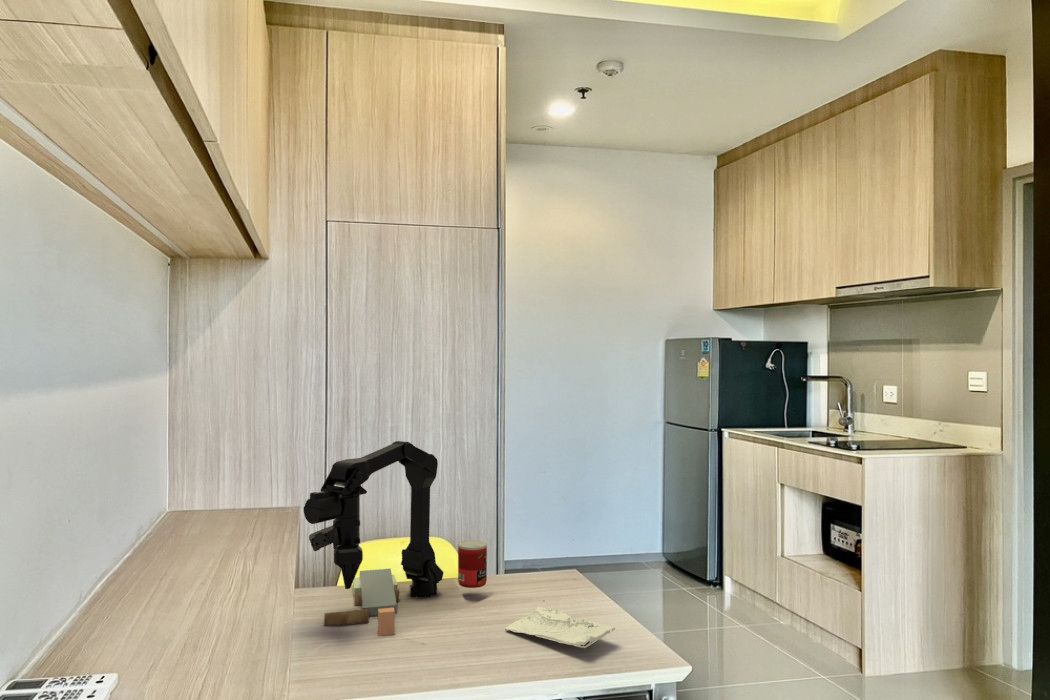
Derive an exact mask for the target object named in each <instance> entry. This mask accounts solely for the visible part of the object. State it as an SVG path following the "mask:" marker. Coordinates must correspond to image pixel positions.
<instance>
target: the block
mask: <svg viewBox="0 0 1050 700" xmlns="http://www.w3.org/2000/svg"><path fill="white" fill-rule="evenodd" d="M359 578H360V576H359V577H358V576H357V577H355V578H354V580H353V583H352V592H353V593H352V595H354V594H355V593H361V590H360V579H359ZM392 579H393V585H394V590H399V587H398V585H399V584H398V582H397V579H396V576H395V574H392Z"/></svg>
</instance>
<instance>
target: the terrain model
mask: <svg viewBox="0 0 1050 700" xmlns="http://www.w3.org/2000/svg"><path fill="white" fill-rule="evenodd" d="M615 630H616V627H615V626H613V625H607V624H603V623H599V622H597V621H588V620H585V619H583V618H581V619H577V618H576V619H575V618H572V616H571V615H568V614H566V613H564V612H561V611H559V610H558V609H557V610H554V609H553V608H551V607H549V608H545V607H541V606H539V605H538V606H537V607H536V608H535V609H533V611H531V612H530V613H529V614H528V615H527V616H524V617H522V618H520V619H518V620H516V621H514V622H512V623H511V624H508V625H507V627H505V628H504V631H505V632H506V631H507V632H508V631H511V632H513V633H519V634H520V633H522V634H526V635H530V636H535V637H537V638H543V639H545V640H550V641H554V642H557V643H559V644H565V645H570V646H574V647H577V648H581V649H586V648H588V647H589V646H591V645H592V644H594V643H595V642H598V641H599V640H601V639H602V638H604V637H605V636H607V635H608V634H611V633H612V632H613V631H615ZM588 642H589V643H588ZM587 643H588V644H587Z"/></svg>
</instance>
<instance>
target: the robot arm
mask: <svg viewBox="0 0 1050 700" xmlns="http://www.w3.org/2000/svg"><path fill="white" fill-rule="evenodd" d="M397 462H398V463H399V464H400V465H402V466H403V467H404V472H405V478H406V479H407V481H408V484H409V486H410V523H409V524H410V530H409V534H410V535H409V543H408V545H407V547H406V548H404V549H402V550H401V562H400V565H401V566H402V570H403V572H404V574H405V578H406V579H407V580H411V584H410V585H409V596H410V598H418V599H419V598H420V599H425V598H426V599H428V598H431V597H434V596H438V584H439V583H440V582H441V581H443V577H444V571H443V569H442V568H441V567H440V566H438V564H437V563H436V553H435V550H434V548H433V547H432V544H431V542H430V524H431V523H430V516H431V515H430V513H431V486H432V485H433V483H434V481H435V479H436V478H437V473H438V465H439V462H438V459H437V457H436V456H435V455H434V454H433V453H428V452H426V451H425V450H423V449H420V448H419V447H417V446H416V445H414V444H413V443H411V442H409V441H402V440H396V441H393V442H392V443H391V444H389V445H387V446H384V447H382V448H380V449H378V450H375V451H373V452H371V453H368V454H365V455H363V456H362V457H361V456H360V457H357V458H356V457H355V458H347V459H343V460H337V461H336V462H334V463H333V464H332V466H331V469H330V471H329V473H328V474H327V477H326V479H325V481H324V482H323V484H322V486H321V488H320V491H318V492H317V491H314V492H310V493H309V498H308V499H307V500H306V501H305V503H304V506H303V515H304V518H305V519H306V521H307V523H309V524H311V525H316V524H319V523H324V522H329V521H332V525H330V526H328V527H325V528H321V529H320V530H317V531H315V532H312V533H310V534H309V535H308V540H309V543H310V546H311V548H312V551H313V552H317V551H320V550H321V549H322V548H324V547H327V546H330V545H331V544H332V546H333V547H332V548H333V563H334V565H335V566H337V567H339V568H340V569H341V574H342V581H343V585H344V589H345V590H350V589H351V588H352V586H353V580H354V578H356V576H357V573H358V570H359V568H360V566H361V564H362V561H363V560H364V557H363V556H364V555H363V554H364V553H363V548H362V547H361V546H360V544H361V537H360V534H361V533H360V529H361V528H360V527H361V520H360V519H361V517H360V515H361V514H360V513H361V512H360V510H361V509H360V508H361V505H360V503H361V501H360V499H361V495H365V494H367V493H368V490H366V489H365V488H363V486H362V485H363V484H364V483H366V482H367V481H368V480H369V478H370V477H371V475H372V474H374V473H376V472H378V471H380V470H383V469H384V468H387V467H389V466H390V465H393V464H395V463H397Z"/></svg>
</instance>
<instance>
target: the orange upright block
mask: <svg viewBox="0 0 1050 700" xmlns="http://www.w3.org/2000/svg"><path fill="white" fill-rule="evenodd" d="M395 614H396V613H395V611H394V607H393V608H383V609H378V615H377V634H378V637H381V636H382V637H383V636H391V635H392V636H393V635H395V631H396V630H395V628H396V627H395V625H396V623H395V622H396V621H395V618H396V617H395V616H396V615H395Z"/></svg>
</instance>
